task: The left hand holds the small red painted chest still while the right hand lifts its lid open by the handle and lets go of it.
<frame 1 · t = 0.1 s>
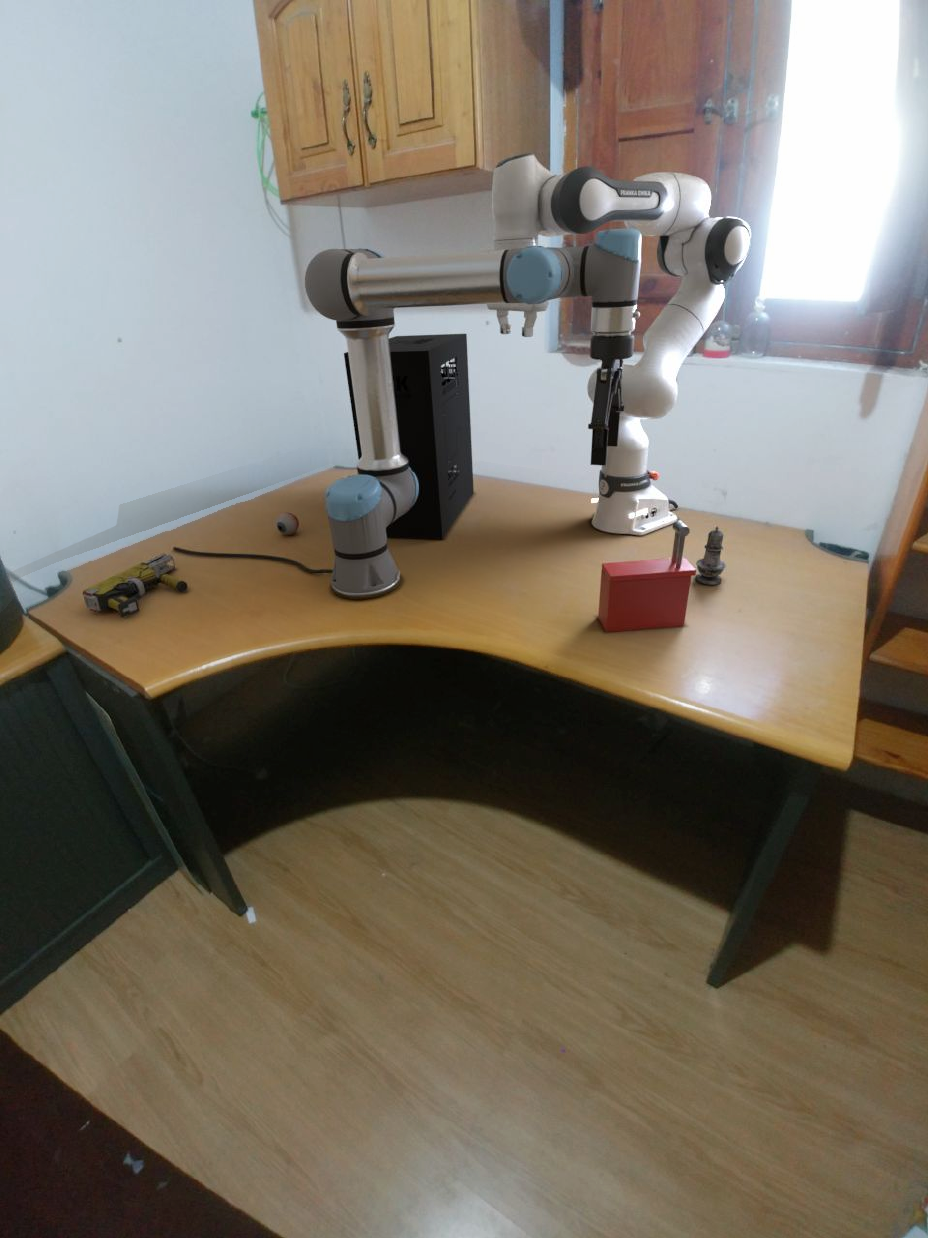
left hand: (604, 455, 116), 28 cm above the table, tool pointing down, fingers open, 13 cm apart
right hand: (516, 335, 125), 48 cm above the table, tool pointing down, fingers open, 8 cm apart
dark grey tall piece: (708, 579, 129), on the table
toy gun: (152, 593, 138), on the table
cardboard box: (425, 513, 174), on the table
eyeball: (289, 534, 165), on the table
chest: (640, 621, 116), on the table
lid: (650, 549, 108), point 15 cm above the table, hinge at 0.0°
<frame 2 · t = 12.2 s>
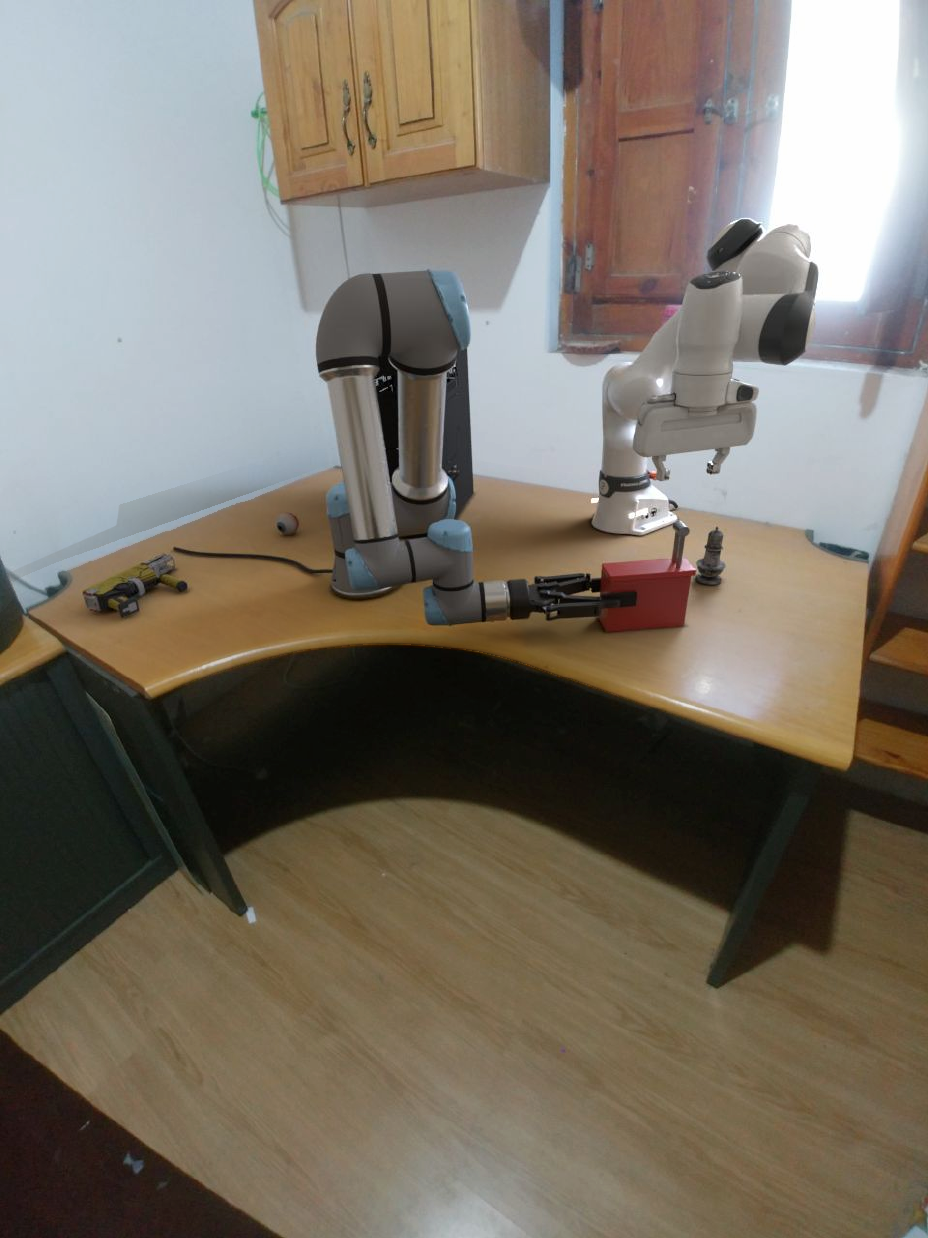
left hand: (630, 590, 112), 7 cm above the table, tool horizontal, fingers closed on chest, 6 cm apart
right hand: (687, 476, 102), 28 cm above the table, tool pointing down, fingers open, 8 cm apart
chest: (640, 621, 116), on the table, touching left hand
everything else where it was.
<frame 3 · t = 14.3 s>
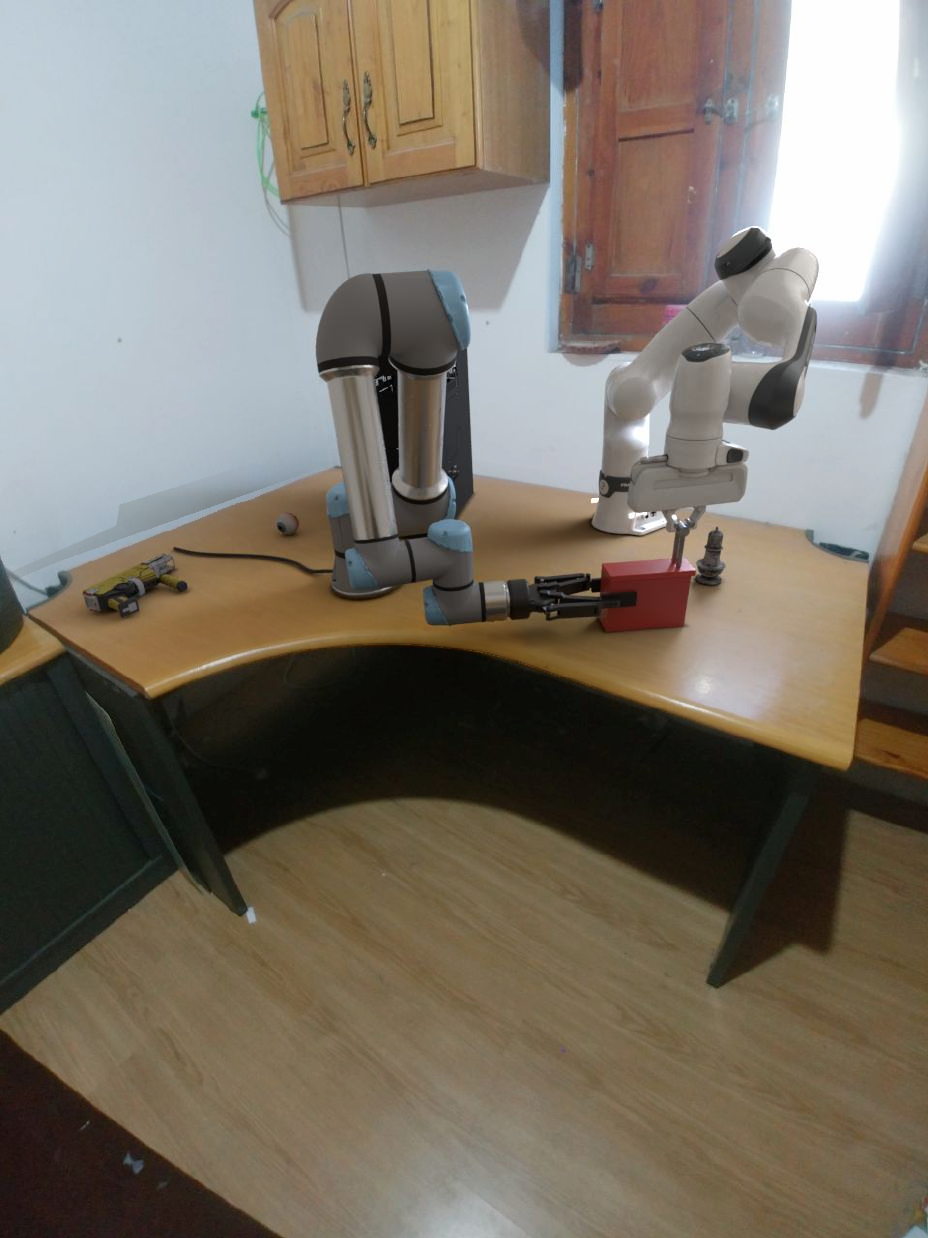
left hand: (630, 590, 112), 7 cm above the table, tool horizontal, fingers closed on chest, 6 cm apart
right hand: (681, 529, 107), 18 cm above the table, tool pointing down, fingers closed on lid, 2 cm apart
chest: (640, 621, 116), on the table, touching left hand
lid: (650, 549, 108), point 15 cm above the table, hinge at -0.1°, touching right hand
everything else where it was.
when the left hand's fingers open (7 cm above the table, at t = 21.3 s): chest stays where it is, on the table.
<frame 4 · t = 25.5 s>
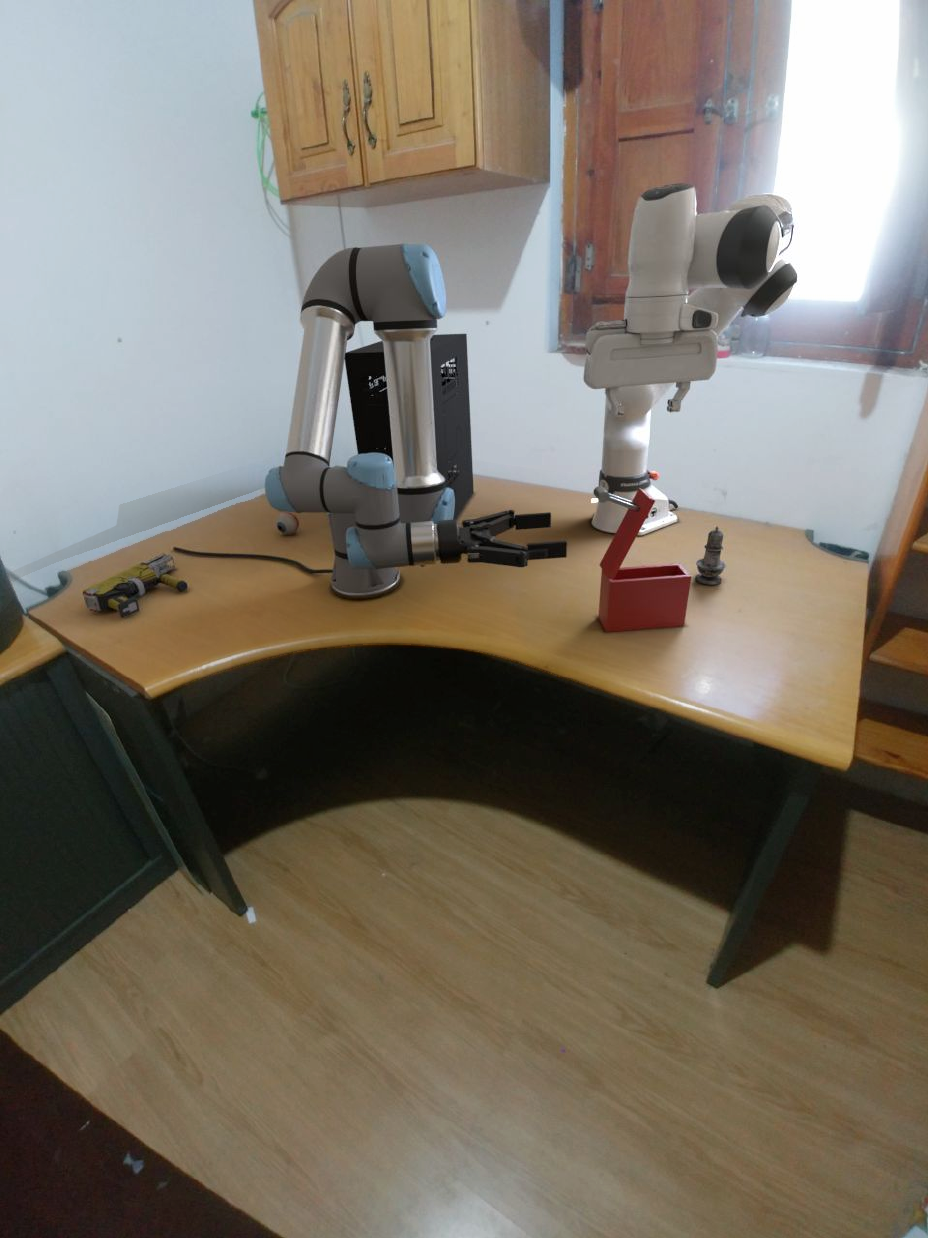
left hand: (558, 533, 106), 19 cm above the table, tool horizontal, fingers open, 13 cm apart
right hand: (645, 413, 96), 39 cm above the table, tool pointing down, fingers open, 8 cm apart
chest: (640, 621, 116), on the table
lid: (606, 527, 106), point 20 cm above the table, hinge at 66.8°
everything else where it was.
at the end: lid at +67° (first picture: +0°); the left hand is holding nothing; the right hand is holding nothing; chest tilted 0°; chest never tilted more than 1° during the clip; chest moved 0.0 cm from its start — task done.
